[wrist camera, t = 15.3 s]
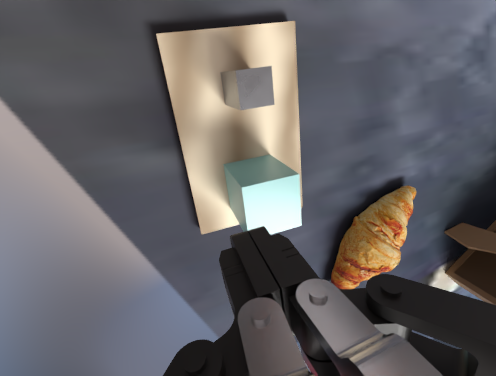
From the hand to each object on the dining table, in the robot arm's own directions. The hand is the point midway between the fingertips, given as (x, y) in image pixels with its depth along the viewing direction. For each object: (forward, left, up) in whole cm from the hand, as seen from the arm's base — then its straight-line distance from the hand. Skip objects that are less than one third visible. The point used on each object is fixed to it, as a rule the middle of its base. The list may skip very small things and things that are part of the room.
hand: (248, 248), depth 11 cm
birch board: (-6, 0, -22) cm, 22 cm away
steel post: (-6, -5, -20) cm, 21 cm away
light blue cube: (-6, +6, -20) cm, 22 cm away
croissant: (-25, +21, -22) cm, 39 cm away
